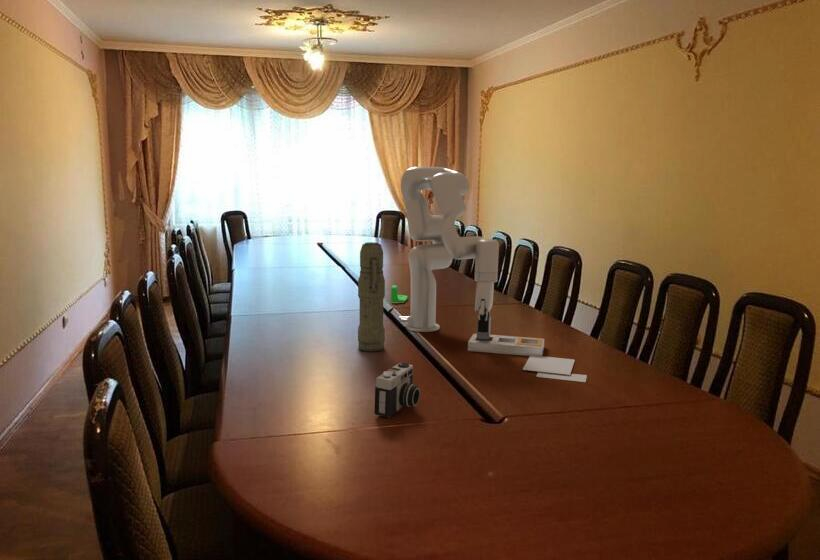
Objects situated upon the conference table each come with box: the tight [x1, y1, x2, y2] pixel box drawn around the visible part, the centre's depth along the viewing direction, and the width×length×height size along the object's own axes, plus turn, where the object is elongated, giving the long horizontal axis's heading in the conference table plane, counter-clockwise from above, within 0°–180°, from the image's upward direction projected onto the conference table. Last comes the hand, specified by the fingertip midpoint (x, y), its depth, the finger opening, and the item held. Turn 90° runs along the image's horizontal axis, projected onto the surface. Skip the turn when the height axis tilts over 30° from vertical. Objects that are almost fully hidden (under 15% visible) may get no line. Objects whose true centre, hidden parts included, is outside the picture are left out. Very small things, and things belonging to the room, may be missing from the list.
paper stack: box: [522, 355, 588, 383], centre depth 191 cm, size 23×25×1 cm
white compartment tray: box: [467, 333, 545, 357], centre depth 214 cm, size 24×12×3 cm, turn 75°
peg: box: [476, 314, 492, 341], centre depth 216 cm, size 4×4×10 cm
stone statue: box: [357, 242, 386, 352], centre depth 211 cm, size 9×12×35 cm
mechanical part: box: [390, 284, 409, 303], centre depth 291 cm, size 12×6×8 cm, turn 172°
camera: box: [373, 362, 421, 419], centre depth 158 cm, size 14×9×10 cm, turn 148°
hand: (483, 329), depth 216 cm, fingers closed on peg, 4 cm apart
